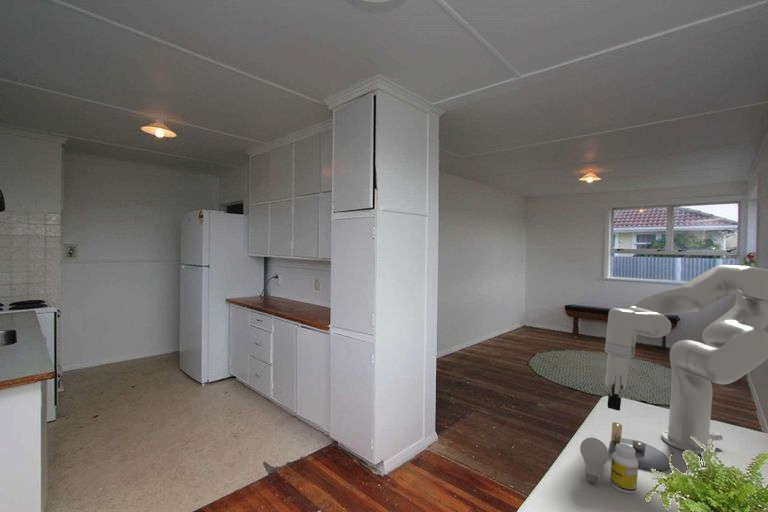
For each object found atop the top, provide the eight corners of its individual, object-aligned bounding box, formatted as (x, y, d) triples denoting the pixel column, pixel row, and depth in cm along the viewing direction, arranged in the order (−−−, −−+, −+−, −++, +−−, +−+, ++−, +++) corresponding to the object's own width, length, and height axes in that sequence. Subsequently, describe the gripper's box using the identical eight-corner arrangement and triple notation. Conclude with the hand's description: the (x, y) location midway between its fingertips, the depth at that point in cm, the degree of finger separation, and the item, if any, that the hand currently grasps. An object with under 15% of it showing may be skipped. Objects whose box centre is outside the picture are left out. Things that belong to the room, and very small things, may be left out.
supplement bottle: (605, 478, 91) (607, 440, 91) (627, 480, 91) (629, 442, 91) (618, 493, 86) (621, 453, 86) (641, 495, 86) (644, 454, 86)
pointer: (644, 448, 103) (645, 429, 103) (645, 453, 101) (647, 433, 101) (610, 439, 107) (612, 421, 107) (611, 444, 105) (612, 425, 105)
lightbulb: (595, 493, 85) (598, 448, 85) (572, 478, 91) (575, 435, 91) (612, 488, 88) (615, 443, 88) (589, 473, 94) (592, 431, 93)
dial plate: (641, 442, 110) (641, 437, 110) (683, 470, 97) (683, 465, 96) (598, 442, 109) (598, 437, 109) (634, 471, 95) (635, 465, 95)
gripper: (604, 342, 118) (598, 397, 119) (606, 352, 105) (600, 413, 106) (631, 346, 115) (626, 403, 115) (637, 357, 102) (630, 421, 102)
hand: (613, 408), depth 111 cm, fingers closed
